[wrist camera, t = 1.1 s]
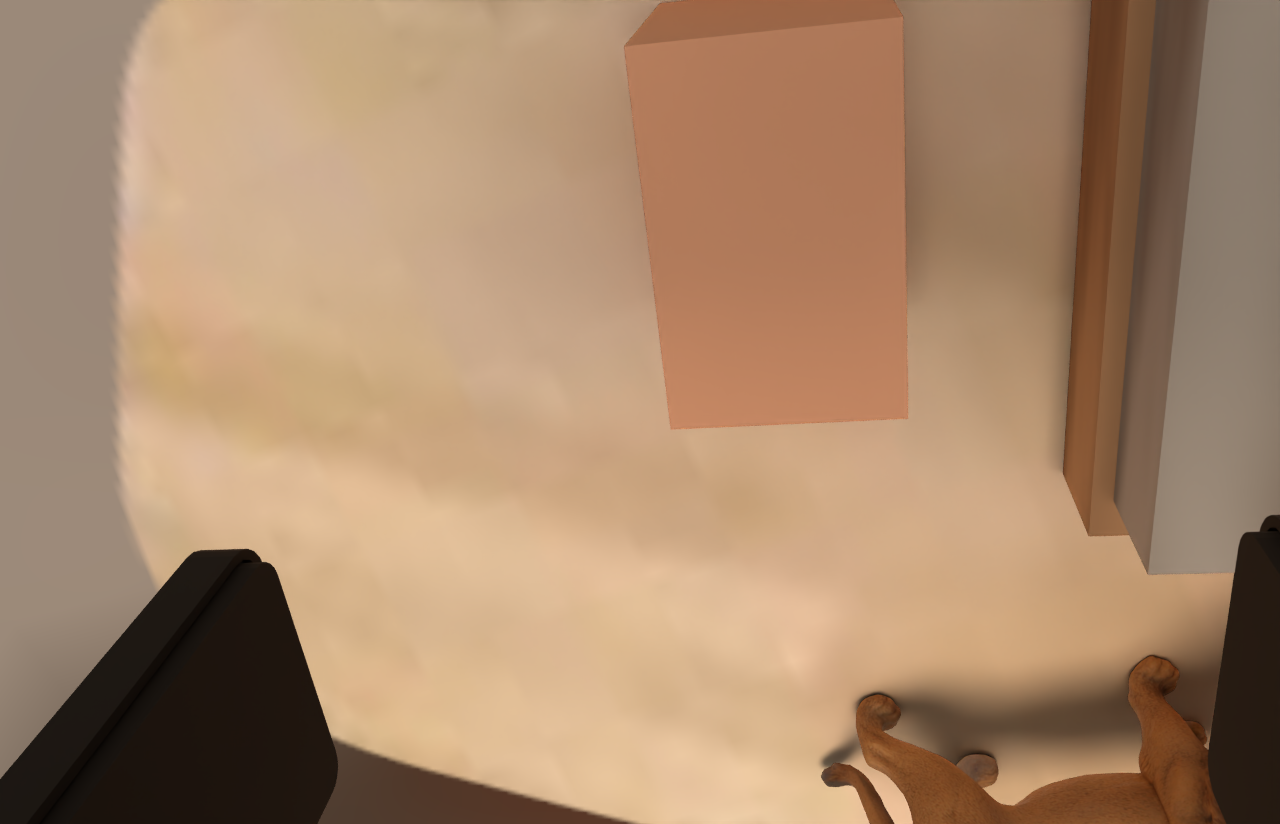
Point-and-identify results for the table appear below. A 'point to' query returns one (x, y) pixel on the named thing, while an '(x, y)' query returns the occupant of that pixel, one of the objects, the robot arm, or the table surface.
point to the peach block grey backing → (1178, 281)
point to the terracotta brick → (775, 207)
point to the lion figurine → (1062, 811)
